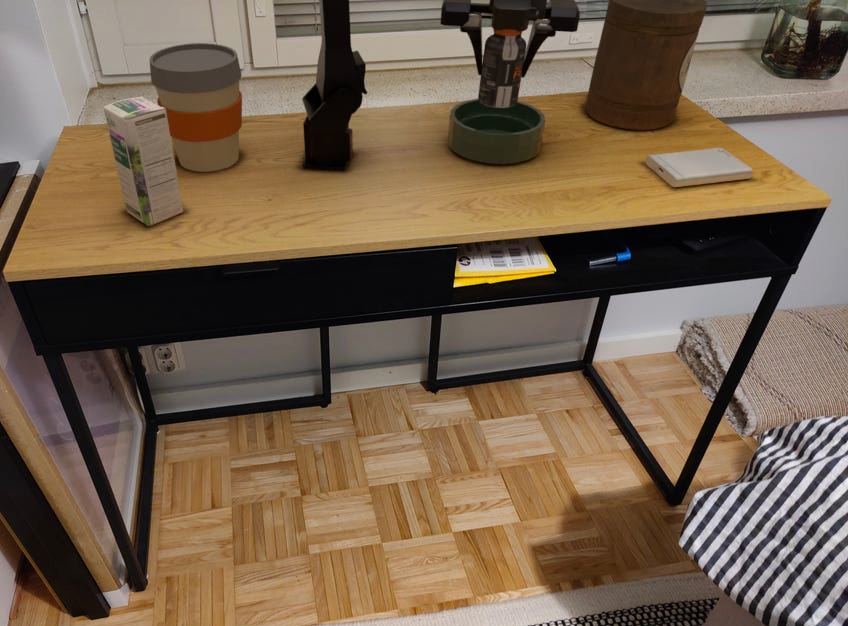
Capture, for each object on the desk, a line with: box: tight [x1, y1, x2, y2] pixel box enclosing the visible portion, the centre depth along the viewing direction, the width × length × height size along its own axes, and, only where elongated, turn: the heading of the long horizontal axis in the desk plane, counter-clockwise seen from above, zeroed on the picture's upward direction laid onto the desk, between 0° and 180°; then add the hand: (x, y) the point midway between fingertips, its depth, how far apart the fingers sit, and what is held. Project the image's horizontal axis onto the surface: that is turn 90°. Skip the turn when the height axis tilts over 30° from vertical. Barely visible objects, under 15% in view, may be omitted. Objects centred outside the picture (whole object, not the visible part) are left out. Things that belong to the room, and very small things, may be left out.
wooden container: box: [584, 0, 708, 131], centre depth 115 cm, size 15×15×22 cm
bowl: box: [447, 98, 546, 165], centre depth 110 cm, size 14×14×5 cm
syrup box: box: [102, 96, 184, 227], centre depth 91 cm, size 6×6×14 cm
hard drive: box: [644, 147, 754, 188], centre depth 105 cm, size 2×8×12 cm
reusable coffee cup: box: [149, 42, 243, 173], centre depth 103 cm, size 13×13×15 cm
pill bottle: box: [477, 28, 527, 108], centre depth 103 cm, size 6×6×11 cm
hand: (501, 75), depth 104 cm, fingers closed on pill bottle, 6 cm apart
